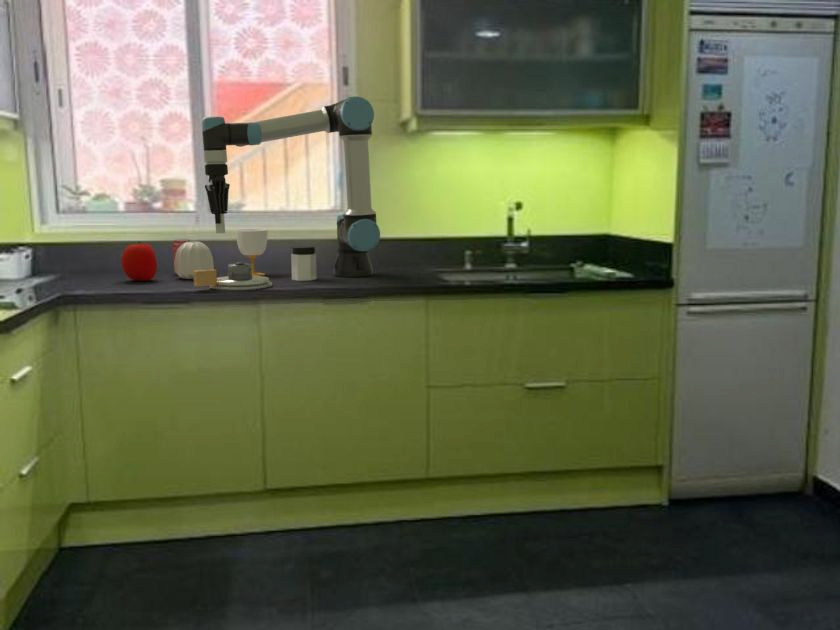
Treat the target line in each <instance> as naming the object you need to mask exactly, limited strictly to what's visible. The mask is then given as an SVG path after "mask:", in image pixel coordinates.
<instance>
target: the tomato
mask: <svg viewBox="0 0 840 630" xmlns="http://www.w3.org/2000/svg"><path fill="white" fill-rule="evenodd" d="M137 242H138V243H136V242H135V243H132V244H129V245H128V246H127V247H125V249H124V251H123V252H122V254H121V260H120V262H121V269H122V270H123V272H124V274H125V275H126V276H127V278H129V279H130V280H132V281H136V282H137V281H138V282H139V281H140V282H141V281H142V282H144V281H145V282H148V281H151V280H152V279H154V278H155V276H156V273H157V268H158V263H157V262H158V261H157V257H156V256H157V255H156V254H155V251H154V249H153V247H152V245H150V243H145V242H144V243H143V242H142V243H141V241H137Z"/></svg>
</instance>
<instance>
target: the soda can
mask: <svg viewBox="0 0 840 630" xmlns="http://www.w3.org/2000/svg"><path fill="white" fill-rule="evenodd" d="M185 242H192V241H191V239H188V238H185V239H182V238H181V239H179V238H178V239H174V240H173V243H172V254H173V256H172V257H173V264H174V263H175V255H176V252H177V249H178V248H179V247H180V246H181V245H182V244H184V243H185ZM173 269H174V273H175V274H176V275H178V274H177V273H176V272H175V267H174V266H173Z"/></svg>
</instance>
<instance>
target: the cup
mask: <svg viewBox="0 0 840 630" xmlns="http://www.w3.org/2000/svg"><path fill="white" fill-rule="evenodd" d="M235 236H236V243H237V247H238V250H239V252H240V253H241V254H242V255H243V256H244V257H247V258H249V259H250V260H251V261H250V264H252V276H263V277H264V276H265V275H266V273H263V272H256V269H255V268H256V267H255V259H256V258H257V257H260V256H262V255H263V254H264V252H265V251H266V249H267V245H268V229H267V228H266V229H265V228H243V229H241V228H240V229H236V230H235Z"/></svg>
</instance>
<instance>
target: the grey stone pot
mask: <svg viewBox="0 0 840 630" xmlns="http://www.w3.org/2000/svg"><path fill="white" fill-rule="evenodd" d="M227 270H228V271H227V272H228V273H227V276H228V278H229V280H236V281H240V280H251V279H252V263H249V262H248V263H247V262H243V261H239V262H238V261H237V262H234V263H229V264H227Z"/></svg>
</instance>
